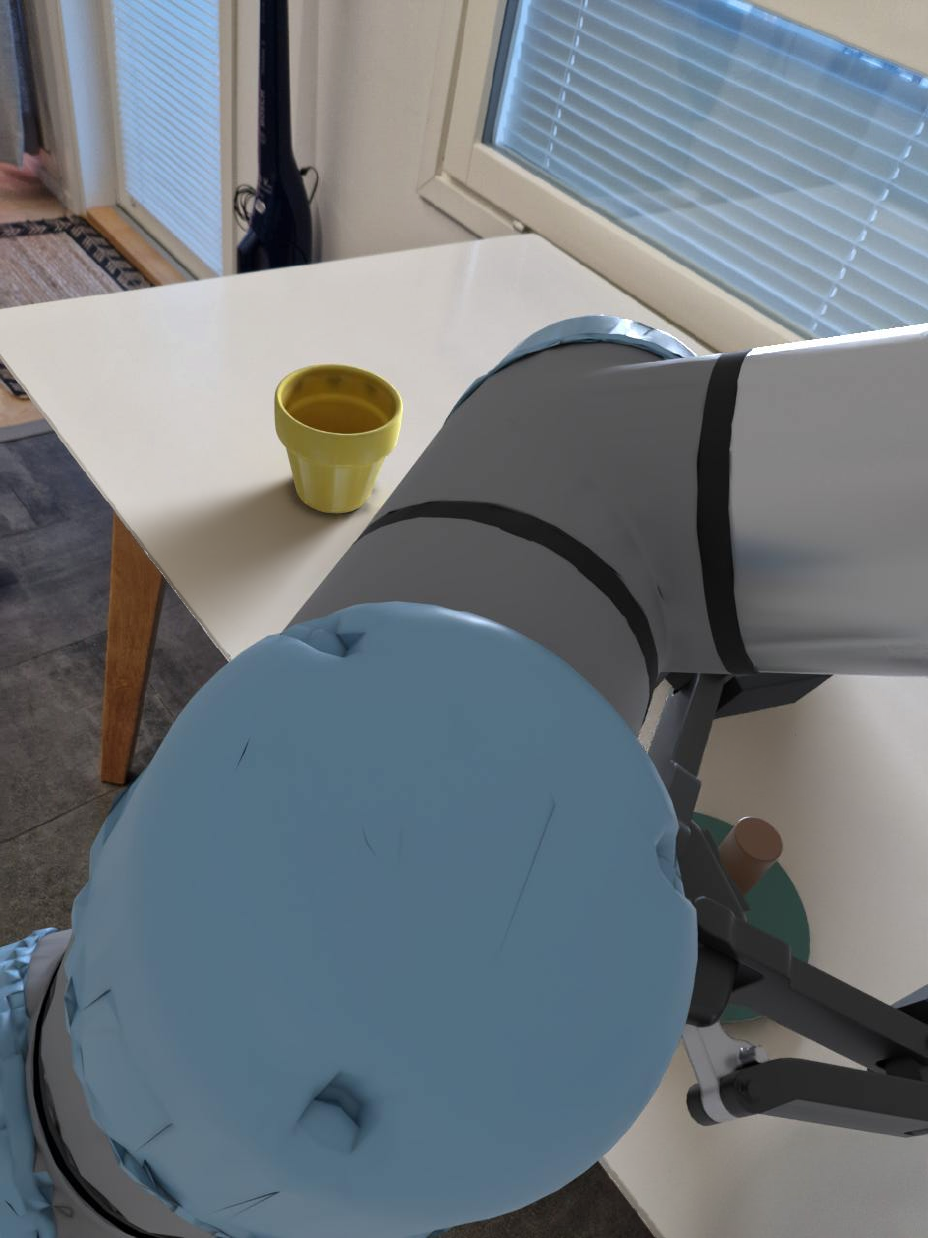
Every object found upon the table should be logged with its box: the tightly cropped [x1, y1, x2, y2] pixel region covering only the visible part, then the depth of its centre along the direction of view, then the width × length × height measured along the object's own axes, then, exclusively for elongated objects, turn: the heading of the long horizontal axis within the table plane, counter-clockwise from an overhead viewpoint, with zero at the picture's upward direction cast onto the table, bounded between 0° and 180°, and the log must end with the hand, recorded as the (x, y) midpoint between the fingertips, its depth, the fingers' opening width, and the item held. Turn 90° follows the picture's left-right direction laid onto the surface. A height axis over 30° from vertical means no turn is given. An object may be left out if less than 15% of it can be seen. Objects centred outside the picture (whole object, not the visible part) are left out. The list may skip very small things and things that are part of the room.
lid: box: [691, 811, 811, 1024], centre depth 51 cm, size 14×14×10 cm
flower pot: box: [273, 363, 404, 514], centre depth 74 cm, size 10×10×10 cm
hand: (893, 813), depth 38 cm, fingers open, 13 cm apart
